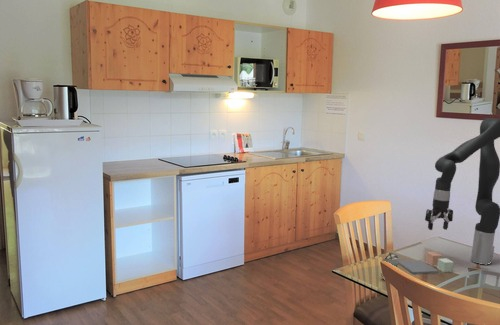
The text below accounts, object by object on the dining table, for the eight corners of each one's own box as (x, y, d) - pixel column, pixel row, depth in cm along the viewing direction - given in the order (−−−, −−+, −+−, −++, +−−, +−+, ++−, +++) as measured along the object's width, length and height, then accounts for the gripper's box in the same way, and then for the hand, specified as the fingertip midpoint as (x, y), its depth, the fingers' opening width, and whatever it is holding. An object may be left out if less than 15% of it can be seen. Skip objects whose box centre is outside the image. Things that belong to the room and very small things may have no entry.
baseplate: (420, 261, 226) (420, 259, 226) (438, 272, 212) (438, 270, 212) (396, 262, 222) (396, 260, 222) (412, 274, 209) (412, 272, 209)
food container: (393, 283, 197) (396, 262, 196) (380, 279, 200) (382, 259, 199) (400, 274, 208) (402, 254, 206) (387, 271, 211) (389, 251, 209)
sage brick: (445, 267, 220) (446, 258, 219) (452, 271, 215) (453, 262, 214) (437, 268, 219) (438, 258, 218) (443, 272, 214) (444, 262, 213)
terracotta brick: (434, 260, 228) (435, 251, 228) (440, 264, 224) (441, 255, 223) (425, 261, 227) (426, 252, 226) (431, 265, 222) (433, 255, 222)
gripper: (448, 196, 225) (444, 226, 228) (424, 196, 222) (420, 227, 224) (458, 200, 218) (454, 231, 221) (433, 200, 215) (430, 232, 217)
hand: (437, 229), depth 222 cm, fingers open, 8 cm apart
